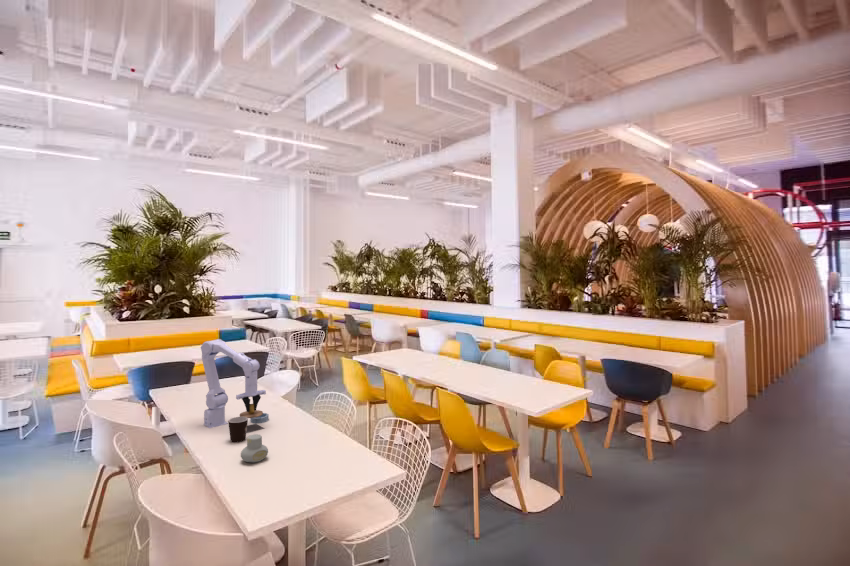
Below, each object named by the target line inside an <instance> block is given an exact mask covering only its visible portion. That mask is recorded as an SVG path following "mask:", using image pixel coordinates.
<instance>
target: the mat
mask: <svg viewBox="0 0 850 566" xmlns="http://www.w3.org/2000/svg"><path fill="white" fill-rule="evenodd" d="M262 430H265V427H262V426H261V425H259V423H252V424H247V431H246V434H249V433H253V432H256V431H262Z"/></svg>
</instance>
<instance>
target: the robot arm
mask: <svg viewBox="0 0 850 566" xmlns="http://www.w3.org/2000/svg"><path fill="white" fill-rule="evenodd" d="M200 350H201V351H200V352H201V361H202V364H203V369H204V374H205V377H206V378H205V379H206V382H207V386H208V387H207V388H208V392H207V393H206V395H205V398H206V401H205V404H206V406H207V409H205V410H204V413H203V425H204V426H205V427H207V428H208V429H211V428H216V427H219V426H225V425H229V423H228V421H226V416H225V415H226V413H225V412H226V405H227V403H228V401H229V396H228V395H227V393H226V390H225V389H224V388H223V387H221V383H220V379H219V375H218V371H217V367H216V362H215V358H216V356H217V355H218V354H219V353H222V354H224V355H226V356H227V357H229V358H230V359H232V361H233V363H235V364H236V365H237V366H239V367H241V368H242V371H243V373H244V378H245V380H244V382H245V383H244V384H245V386H244V388H245V389H244V392H243V393H239V394H236V396H235V399H236V400H242V402H243V403H244V406H245V410H246V411H247V412H249V411H250V404H251V399H250V398H252V404H254V410H257V407H258V405H259V402H260V400H261V398H262V396H261V395H266V394H267V390H265V389H260V390H258V370H259V369H260V367H261V365H260V362H259V361H258V360H257V359H255V358H253V359H252V357H249V356H247V355H245V353H244V352H237V351H235V350H234V349H233V348H231V347H230V346H229V345H227V344H226V341H224V340H222V339H221V338H217V339H213V340H207V341H204V342H203V343H202V345H201V346H200Z"/></svg>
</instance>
